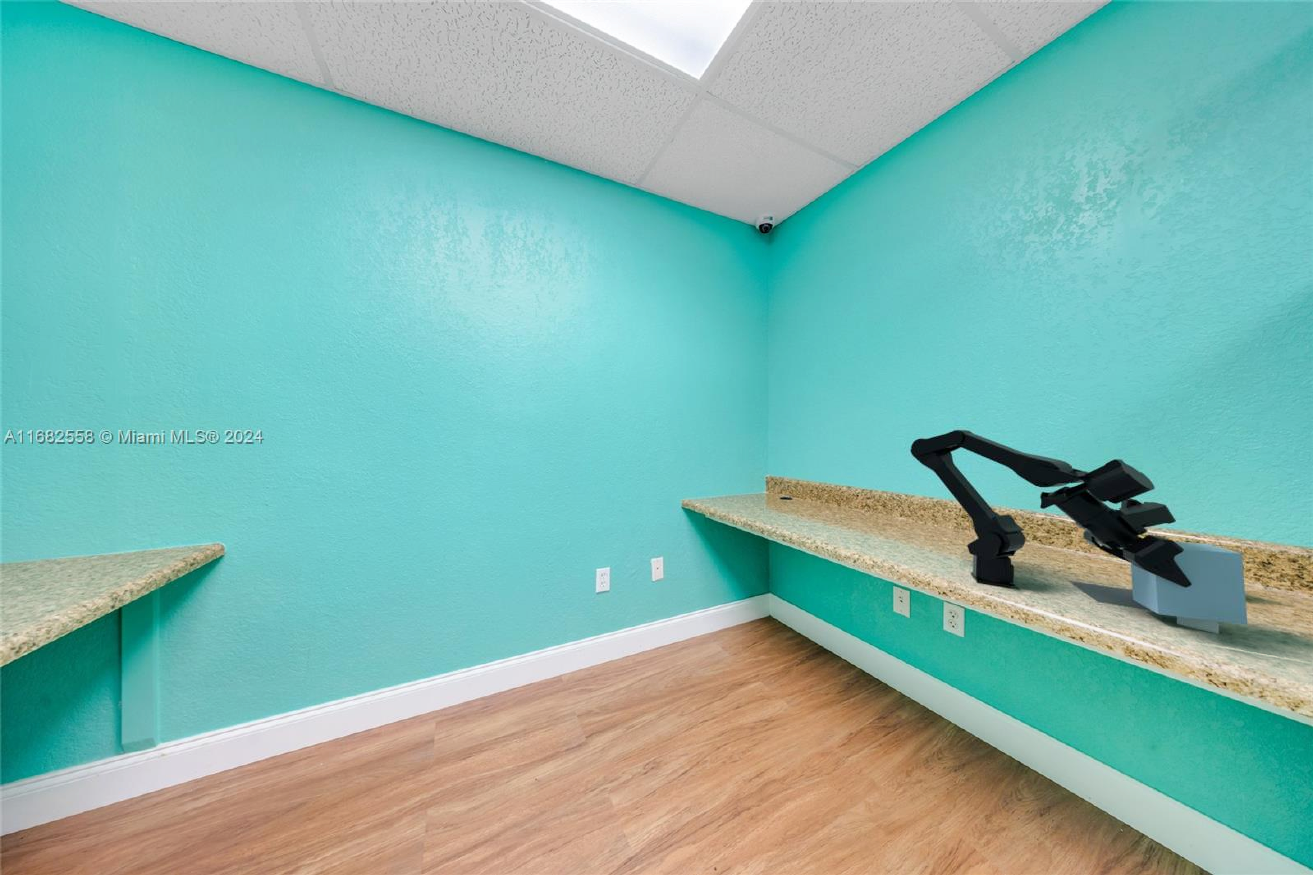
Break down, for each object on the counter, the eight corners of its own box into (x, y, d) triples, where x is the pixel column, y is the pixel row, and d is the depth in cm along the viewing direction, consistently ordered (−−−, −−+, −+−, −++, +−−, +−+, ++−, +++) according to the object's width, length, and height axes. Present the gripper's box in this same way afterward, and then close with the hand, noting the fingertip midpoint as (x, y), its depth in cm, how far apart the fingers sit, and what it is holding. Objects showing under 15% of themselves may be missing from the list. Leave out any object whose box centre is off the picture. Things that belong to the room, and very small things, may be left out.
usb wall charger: (1219, 636, 66) (1218, 613, 66) (1153, 620, 72) (1153, 599, 72) (1217, 629, 68) (1217, 607, 68) (1154, 615, 74) (1154, 594, 74)
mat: (1097, 603, 79) (1097, 601, 79) (1067, 582, 90) (1067, 580, 90) (1220, 623, 71) (1220, 620, 71) (1170, 597, 82) (1170, 595, 82)
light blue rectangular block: (1158, 614, 69) (1153, 547, 70) (1133, 599, 76) (1129, 539, 76) (1247, 625, 64) (1242, 553, 65) (1212, 608, 71) (1207, 543, 71)
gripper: (1167, 493, 65) (1271, 569, 60) (1105, 482, 81) (1183, 541, 76) (1099, 532, 69) (1192, 607, 64) (1054, 514, 85) (1124, 572, 80)
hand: (1172, 578), depth 71 cm, fingers closed on light blue rectangular block, 7 cm apart
